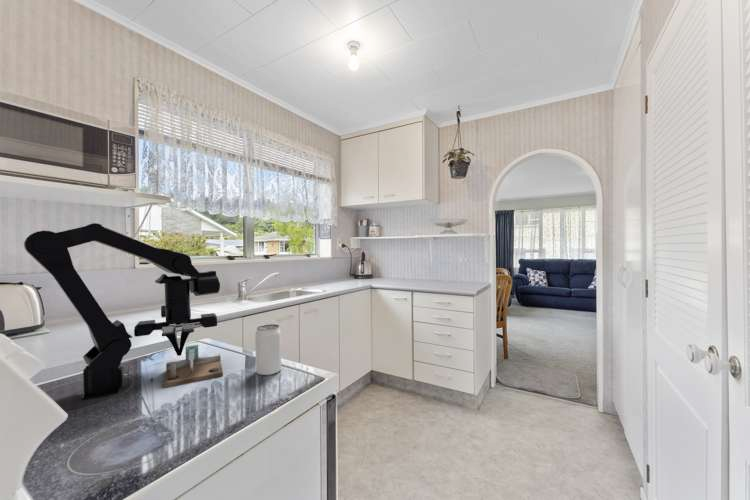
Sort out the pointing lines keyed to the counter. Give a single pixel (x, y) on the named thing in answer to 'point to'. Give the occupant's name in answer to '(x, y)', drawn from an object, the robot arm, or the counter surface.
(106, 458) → the counter surface
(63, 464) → the counter surface
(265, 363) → the can
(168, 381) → the plate
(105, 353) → the robot arm
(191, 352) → the leg
